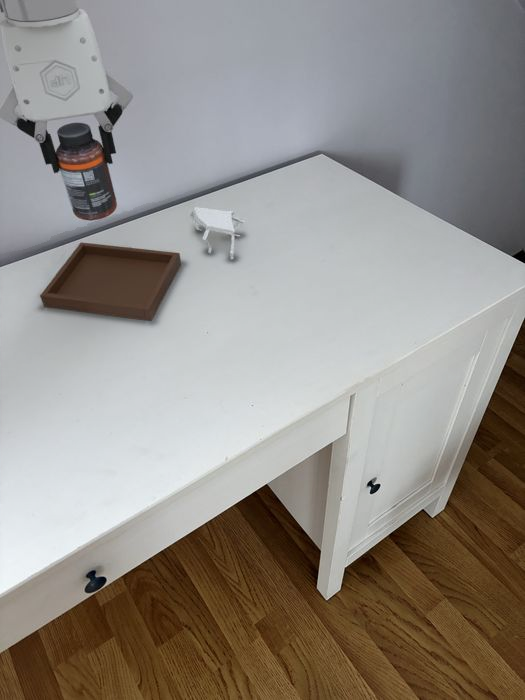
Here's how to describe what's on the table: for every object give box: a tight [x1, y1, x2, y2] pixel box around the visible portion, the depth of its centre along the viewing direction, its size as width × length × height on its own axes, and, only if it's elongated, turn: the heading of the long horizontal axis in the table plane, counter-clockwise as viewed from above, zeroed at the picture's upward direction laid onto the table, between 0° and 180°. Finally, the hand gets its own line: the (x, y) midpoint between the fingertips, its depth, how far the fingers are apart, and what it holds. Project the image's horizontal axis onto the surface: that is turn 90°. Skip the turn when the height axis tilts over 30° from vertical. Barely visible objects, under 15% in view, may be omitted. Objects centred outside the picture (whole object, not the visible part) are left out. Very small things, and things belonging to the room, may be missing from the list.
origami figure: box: [189, 206, 245, 260], centre depth 92 cm, size 12×8×5 cm
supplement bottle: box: [55, 122, 118, 222], centre depth 73 cm, size 6×6×11 cm
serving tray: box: [39, 242, 182, 322], centre depth 85 cm, size 17×14×2 cm
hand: (82, 162), depth 72 cm, fingers closed on supplement bottle, 6 cm apart
